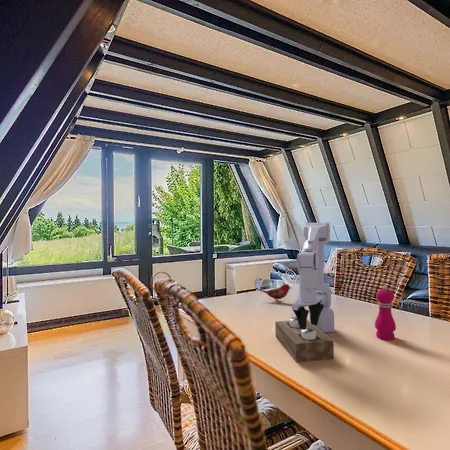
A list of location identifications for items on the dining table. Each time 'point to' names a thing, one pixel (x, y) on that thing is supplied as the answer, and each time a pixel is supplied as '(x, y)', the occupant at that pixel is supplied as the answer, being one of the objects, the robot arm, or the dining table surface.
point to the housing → (304, 343)
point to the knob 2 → (308, 334)
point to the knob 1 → (293, 322)
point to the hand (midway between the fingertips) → (308, 326)
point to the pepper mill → (385, 315)
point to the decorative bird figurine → (278, 292)
